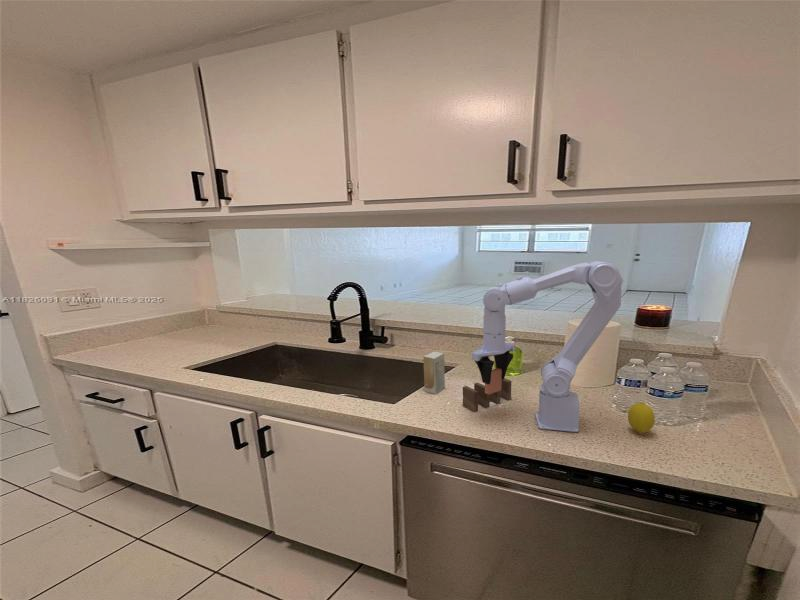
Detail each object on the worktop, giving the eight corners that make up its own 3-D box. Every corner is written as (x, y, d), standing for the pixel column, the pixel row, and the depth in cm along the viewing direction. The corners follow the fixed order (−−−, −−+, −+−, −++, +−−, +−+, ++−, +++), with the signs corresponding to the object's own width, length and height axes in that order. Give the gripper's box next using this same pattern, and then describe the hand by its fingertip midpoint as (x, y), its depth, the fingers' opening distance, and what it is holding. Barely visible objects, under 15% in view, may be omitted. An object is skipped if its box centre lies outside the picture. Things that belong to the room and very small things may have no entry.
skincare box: (434, 385, 124) (434, 350, 122) (445, 388, 121) (445, 352, 119) (423, 391, 119) (422, 355, 117) (434, 394, 116) (433, 358, 114)
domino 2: (477, 401, 111) (477, 382, 110) (489, 407, 107) (489, 387, 106) (474, 402, 110) (474, 383, 109) (485, 408, 106) (486, 389, 105)
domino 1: (466, 404, 109) (466, 385, 108) (477, 411, 104) (478, 391, 103) (462, 406, 108) (462, 386, 107) (474, 412, 104) (474, 392, 103)
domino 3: (501, 390, 101) (501, 369, 100) (488, 394, 98) (489, 373, 97) (497, 388, 102) (497, 368, 101) (484, 392, 99) (485, 371, 98)
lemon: (621, 427, 93) (623, 398, 92) (642, 426, 93) (644, 397, 92) (637, 439, 88) (639, 408, 86) (658, 437, 88) (661, 406, 87)
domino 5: (498, 394, 115) (499, 376, 114) (511, 399, 111) (511, 380, 110) (495, 395, 115) (495, 376, 114) (507, 400, 110) (508, 382, 109)
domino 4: (488, 397, 113) (488, 379, 112) (500, 403, 109) (500, 384, 108) (485, 398, 112) (485, 380, 111) (497, 404, 108) (497, 385, 107)
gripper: (501, 325, 104) (500, 370, 107) (463, 333, 97) (463, 382, 99) (521, 330, 98) (520, 378, 101) (483, 339, 91) (482, 390, 93)
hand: (493, 380), depth 99 cm, fingers closed on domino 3, 5 cm apart
